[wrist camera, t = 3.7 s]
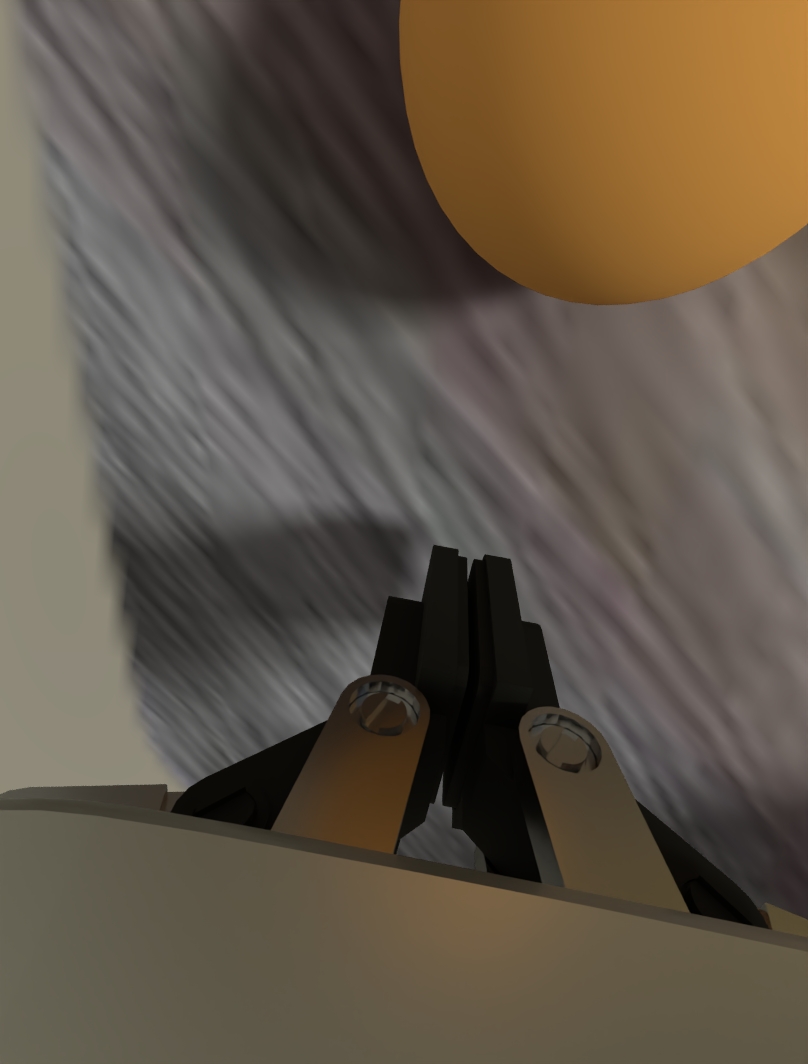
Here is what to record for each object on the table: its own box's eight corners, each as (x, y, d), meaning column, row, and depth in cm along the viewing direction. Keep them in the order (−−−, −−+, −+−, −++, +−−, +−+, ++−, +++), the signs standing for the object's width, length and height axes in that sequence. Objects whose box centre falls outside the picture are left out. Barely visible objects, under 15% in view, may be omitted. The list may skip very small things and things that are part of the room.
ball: (723, 305, 10) (1015, 332, 5) (413, 293, 11) (354, 302, 5) (849, -152, 7) (1846, -1295, 2) (430, -138, 8) (347, -1016, 3)
